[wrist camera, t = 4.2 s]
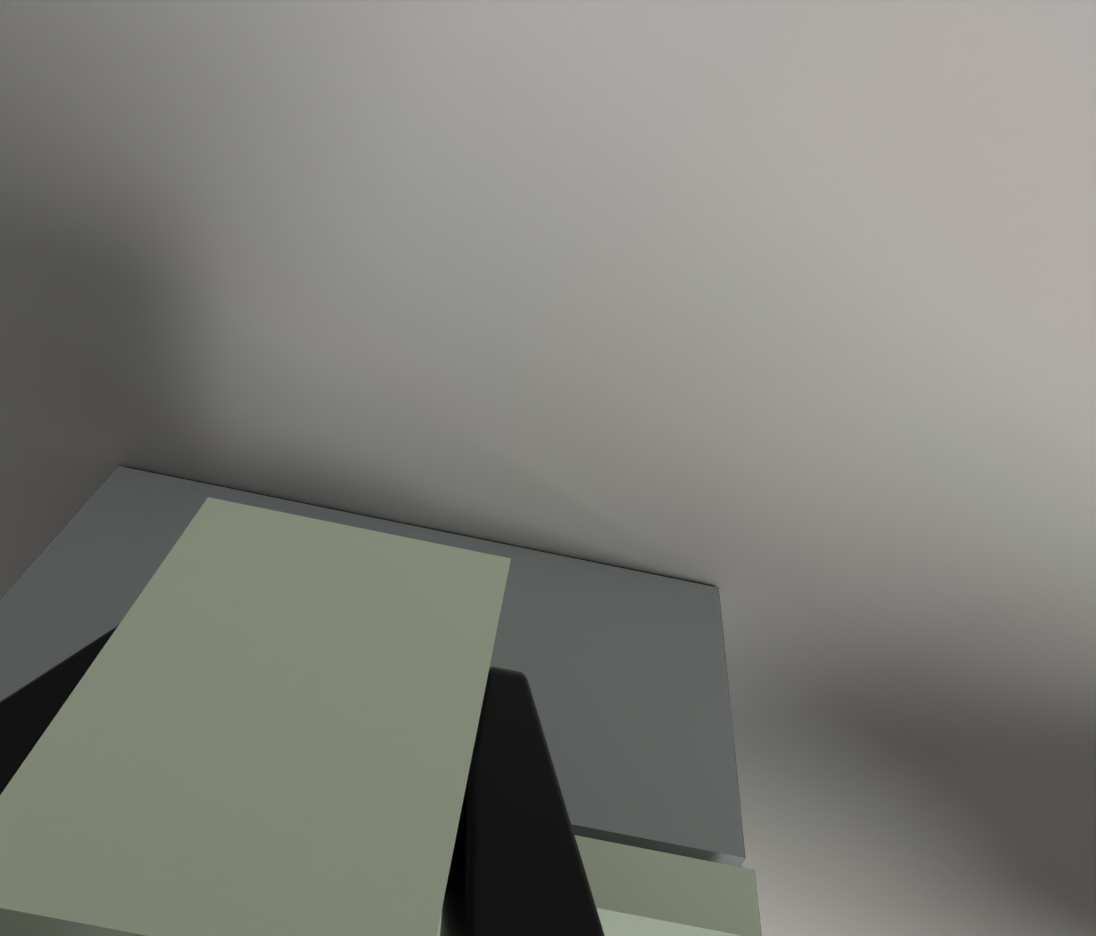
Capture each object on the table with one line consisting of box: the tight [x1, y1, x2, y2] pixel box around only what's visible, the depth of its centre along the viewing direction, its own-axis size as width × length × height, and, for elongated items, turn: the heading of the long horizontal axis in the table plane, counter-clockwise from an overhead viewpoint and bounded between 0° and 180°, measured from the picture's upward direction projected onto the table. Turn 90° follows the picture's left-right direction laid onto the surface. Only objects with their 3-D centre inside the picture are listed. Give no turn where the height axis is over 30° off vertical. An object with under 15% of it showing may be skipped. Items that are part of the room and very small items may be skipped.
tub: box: [0, 466, 745, 867], centre depth 17 cm, size 16×10×5 cm, turn 169°
